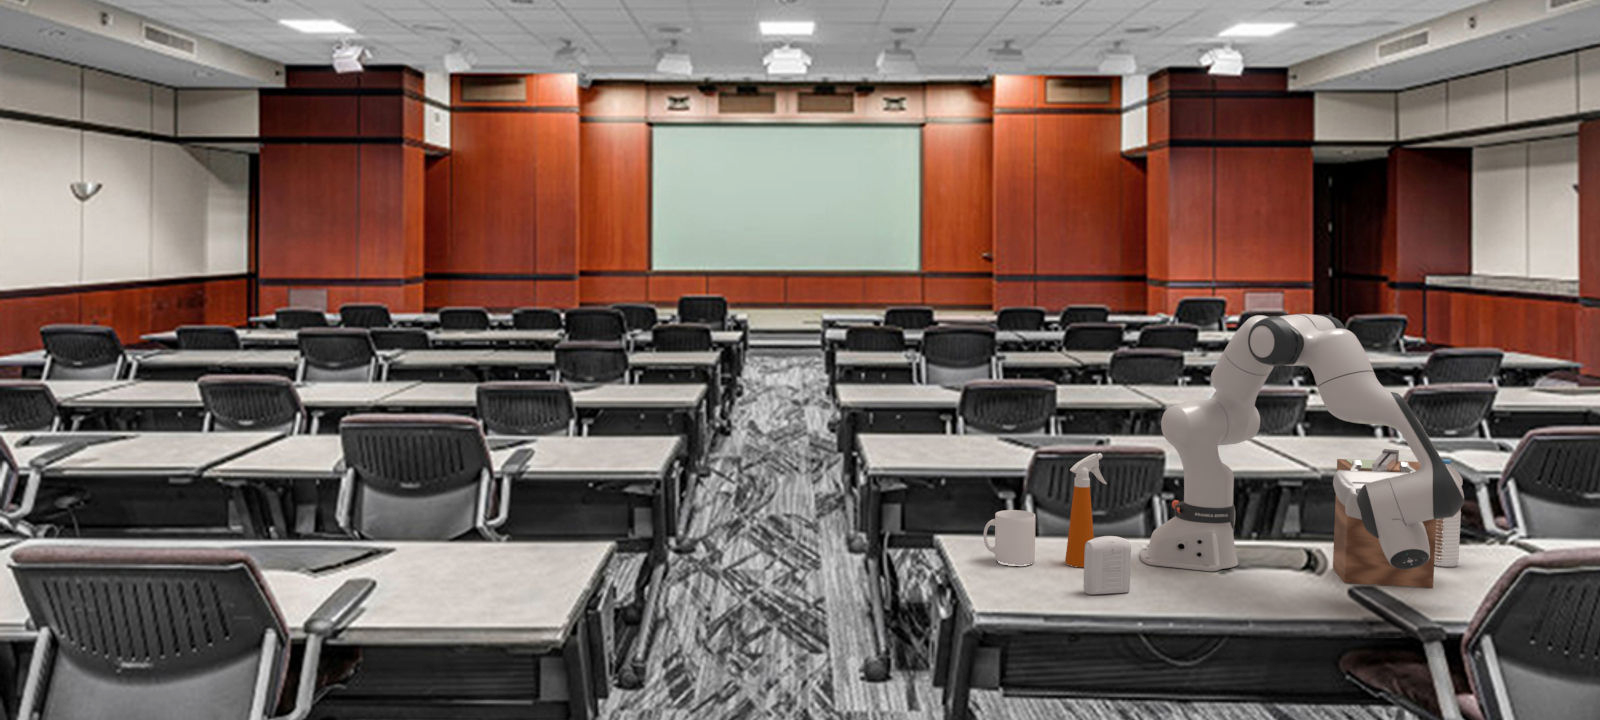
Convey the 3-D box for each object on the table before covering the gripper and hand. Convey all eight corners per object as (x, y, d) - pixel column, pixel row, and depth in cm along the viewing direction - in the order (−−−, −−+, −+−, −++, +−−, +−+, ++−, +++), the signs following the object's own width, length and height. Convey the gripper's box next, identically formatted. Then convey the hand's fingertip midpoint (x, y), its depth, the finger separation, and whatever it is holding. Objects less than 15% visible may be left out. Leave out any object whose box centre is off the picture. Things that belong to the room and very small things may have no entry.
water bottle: (1462, 568, 267) (1468, 463, 264) (1430, 567, 268) (1436, 462, 266) (1452, 561, 273) (1457, 458, 271) (1421, 559, 275) (1426, 457, 272)
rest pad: (1356, 468, 253) (1356, 467, 253) (1345, 459, 263) (1345, 459, 263) (1391, 469, 251) (1391, 468, 251) (1378, 461, 262) (1378, 460, 262)
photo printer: (1123, 587, 252) (1124, 532, 251) (1133, 593, 248) (1134, 537, 247) (1080, 591, 250) (1081, 535, 249) (1089, 596, 246) (1090, 540, 245)
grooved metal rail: (1386, 475, 243) (1387, 463, 243) (1371, 474, 245) (1371, 462, 245) (1398, 461, 260) (1398, 450, 260) (1383, 460, 262) (1384, 449, 261)
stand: (1344, 582, 255) (1349, 468, 253) (1332, 568, 267) (1337, 458, 265) (1433, 588, 251) (1438, 471, 249) (1417, 573, 263) (1422, 461, 260)
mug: (1037, 568, 268) (1038, 519, 267) (985, 567, 269) (986, 518, 268) (1031, 557, 278) (1032, 510, 277) (982, 556, 278) (982, 509, 277)
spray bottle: (1114, 564, 271) (1116, 454, 269) (1078, 569, 267) (1080, 458, 264) (1094, 557, 278) (1096, 450, 275) (1058, 562, 273) (1060, 453, 270)
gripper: (1451, 497, 232) (1435, 453, 243) (1342, 492, 237) (1331, 450, 248) (1445, 520, 236) (1429, 476, 247) (1338, 515, 241) (1327, 472, 252)
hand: (1379, 463), depth 247 cm, fingers open, 8 cm apart
